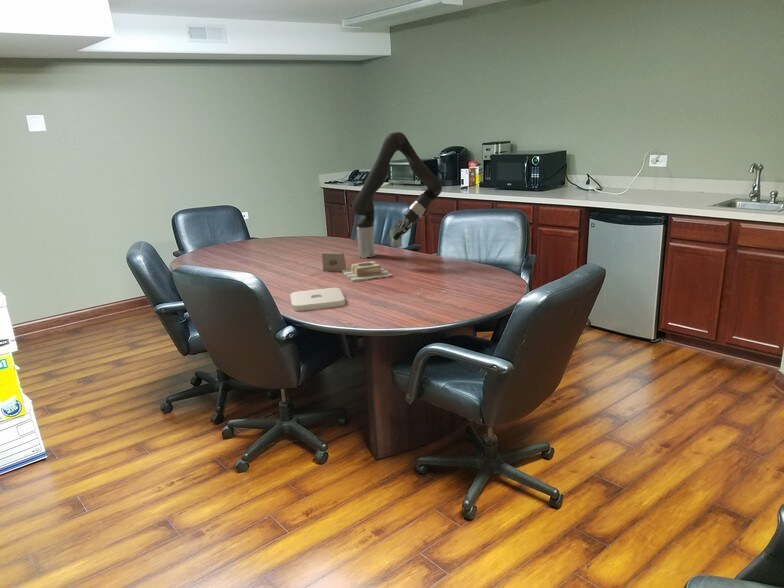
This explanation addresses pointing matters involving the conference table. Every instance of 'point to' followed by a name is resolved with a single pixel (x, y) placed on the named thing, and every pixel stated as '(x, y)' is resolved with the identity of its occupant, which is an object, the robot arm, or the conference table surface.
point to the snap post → (394, 242)
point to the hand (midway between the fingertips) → (393, 238)
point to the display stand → (365, 271)
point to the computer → (317, 299)
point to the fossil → (333, 261)
